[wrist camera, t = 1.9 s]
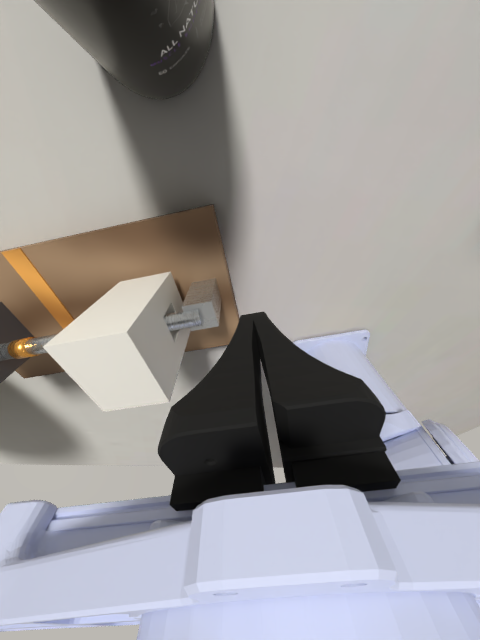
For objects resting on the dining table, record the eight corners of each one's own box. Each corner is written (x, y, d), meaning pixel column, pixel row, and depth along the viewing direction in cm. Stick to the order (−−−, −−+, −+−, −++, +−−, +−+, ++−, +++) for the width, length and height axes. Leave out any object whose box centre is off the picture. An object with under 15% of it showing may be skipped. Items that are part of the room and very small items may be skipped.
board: (242, 333, 22) (243, 342, 20) (35, 368, 23) (23, 379, 22) (213, 204, 15) (211, 205, 14) (-71, 266, 17) (-97, 273, 16)
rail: (221, 299, 18) (218, 332, 14) (12, 337, 19) (-45, 376, 15) (215, 278, 17) (210, 306, 13) (-5, 320, 18) (-72, 357, 14)
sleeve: (191, 326, 18) (169, 402, 12) (148, 333, 18) (103, 411, 12) (170, 271, 15) (126, 332, 9) (119, 281, 15) (42, 346, 9)
